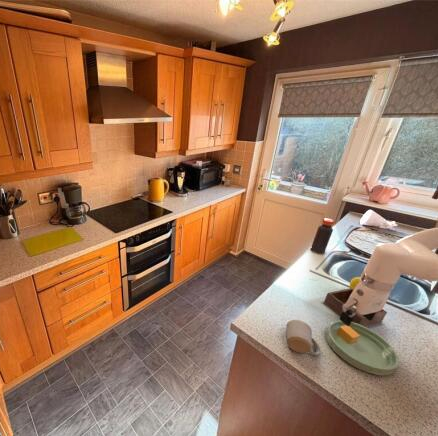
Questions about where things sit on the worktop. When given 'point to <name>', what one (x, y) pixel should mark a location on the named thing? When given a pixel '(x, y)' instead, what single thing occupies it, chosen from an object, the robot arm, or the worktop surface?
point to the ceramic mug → (300, 337)
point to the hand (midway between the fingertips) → (355, 319)
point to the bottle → (322, 236)
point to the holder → (340, 298)
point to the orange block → (348, 334)
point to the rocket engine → (376, 220)
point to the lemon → (354, 282)
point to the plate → (364, 349)
